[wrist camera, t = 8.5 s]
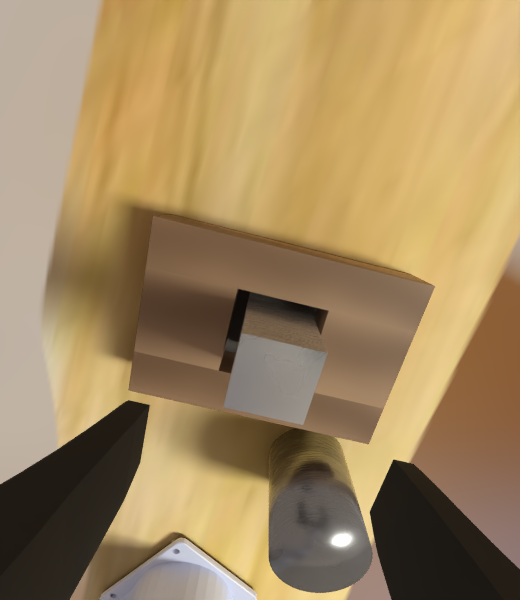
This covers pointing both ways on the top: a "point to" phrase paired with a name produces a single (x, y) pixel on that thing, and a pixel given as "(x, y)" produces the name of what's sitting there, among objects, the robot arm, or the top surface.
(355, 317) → the bore block
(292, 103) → the top surface
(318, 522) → the round bit
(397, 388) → the top surface
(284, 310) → the square bit
